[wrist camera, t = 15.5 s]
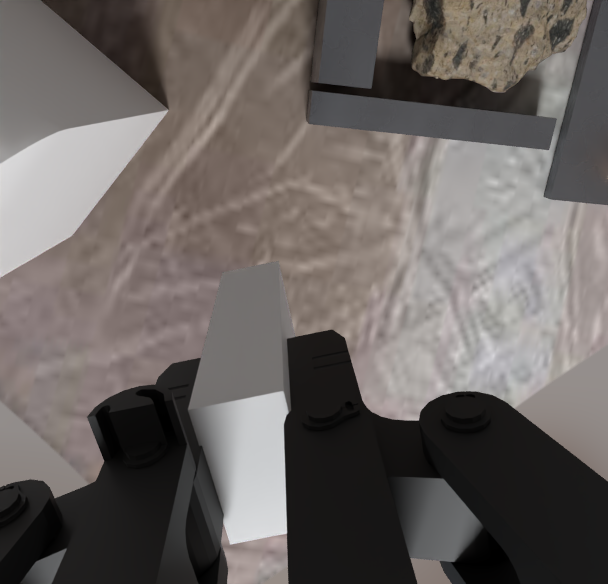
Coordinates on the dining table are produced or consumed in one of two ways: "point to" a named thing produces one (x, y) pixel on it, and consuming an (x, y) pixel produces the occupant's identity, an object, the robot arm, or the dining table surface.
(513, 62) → the rock
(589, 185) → the cracker base
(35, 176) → the milk
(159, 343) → the dining table surface
